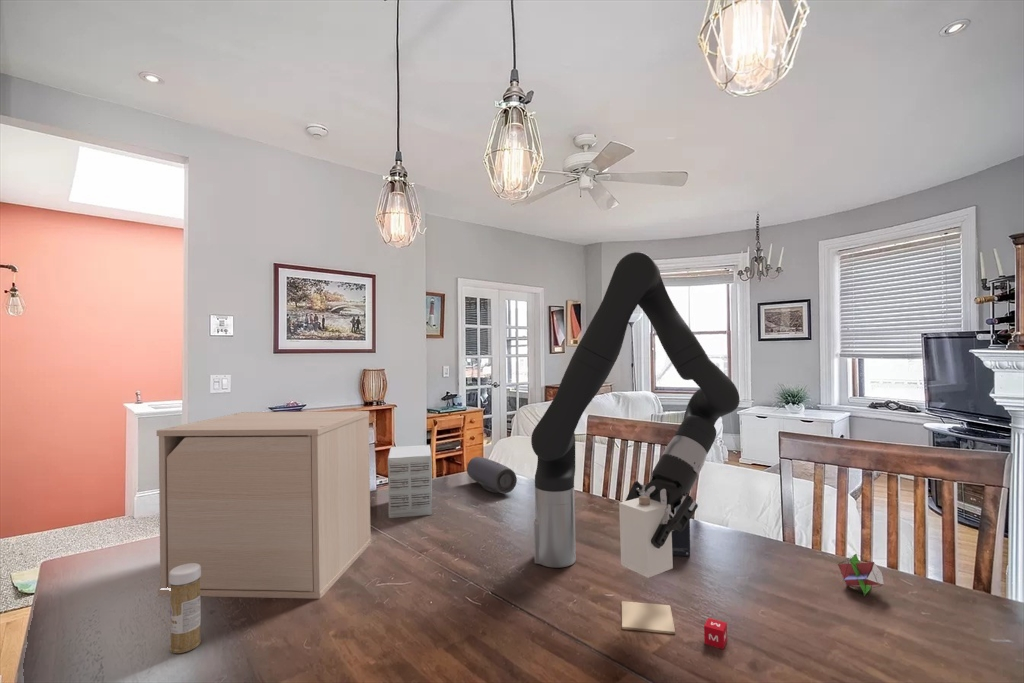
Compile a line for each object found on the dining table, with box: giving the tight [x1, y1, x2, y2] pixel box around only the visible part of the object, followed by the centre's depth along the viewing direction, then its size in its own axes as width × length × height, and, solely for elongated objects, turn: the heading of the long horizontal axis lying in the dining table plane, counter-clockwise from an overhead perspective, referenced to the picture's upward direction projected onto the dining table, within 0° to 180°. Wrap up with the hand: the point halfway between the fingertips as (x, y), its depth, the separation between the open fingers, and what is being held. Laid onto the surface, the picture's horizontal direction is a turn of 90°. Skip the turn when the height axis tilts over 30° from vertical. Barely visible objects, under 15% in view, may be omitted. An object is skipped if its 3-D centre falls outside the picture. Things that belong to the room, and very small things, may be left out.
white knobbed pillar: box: [618, 496, 674, 579], centre depth 92 cm, size 6×6×13 cm
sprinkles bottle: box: [169, 563, 202, 654], centre depth 85 cm, size 5×5×14 cm
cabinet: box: [156, 410, 372, 600], centre depth 117 cm, size 35×29×34 cm
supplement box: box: [387, 444, 433, 519], centre depth 158 cm, size 17×13×18 cm
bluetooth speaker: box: [466, 456, 518, 494], centre depth 177 cm, size 23×9×10 cm, turn 30°
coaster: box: [621, 600, 676, 635], centre depth 92 cm, size 9×9×1 cm
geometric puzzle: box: [837, 553, 885, 597], centre depth 100 cm, size 7×7×8 cm
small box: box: [672, 505, 691, 557], centre depth 123 cm, size 11×6×10 cm, turn 168°
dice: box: [703, 617, 728, 650], centre depth 84 cm, size 3×3×3 cm
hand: (639, 539), depth 91 cm, fingers closed on white knobbed pillar, 6 cm apart
